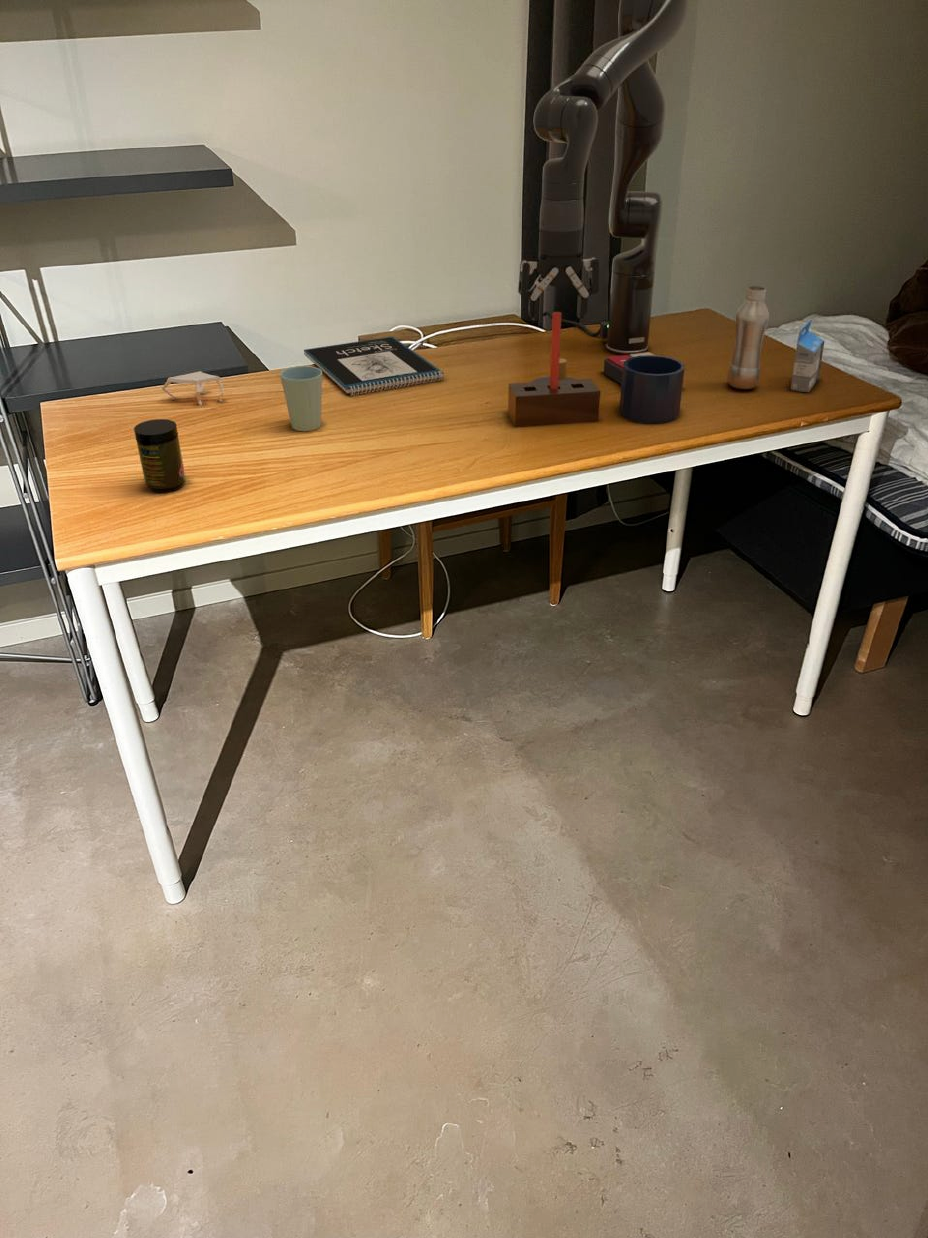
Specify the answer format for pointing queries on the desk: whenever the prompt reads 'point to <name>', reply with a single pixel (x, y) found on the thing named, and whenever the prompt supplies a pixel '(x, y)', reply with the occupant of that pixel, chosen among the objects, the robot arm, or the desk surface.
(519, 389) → the straw holder
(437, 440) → the desk surface
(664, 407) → the tin
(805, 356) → the label tape box
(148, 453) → the supplement container
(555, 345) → the straw
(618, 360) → the calculator
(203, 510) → the desk surface
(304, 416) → the cup
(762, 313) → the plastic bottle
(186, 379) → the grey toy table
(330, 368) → the sketchbook
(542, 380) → the tin lid
